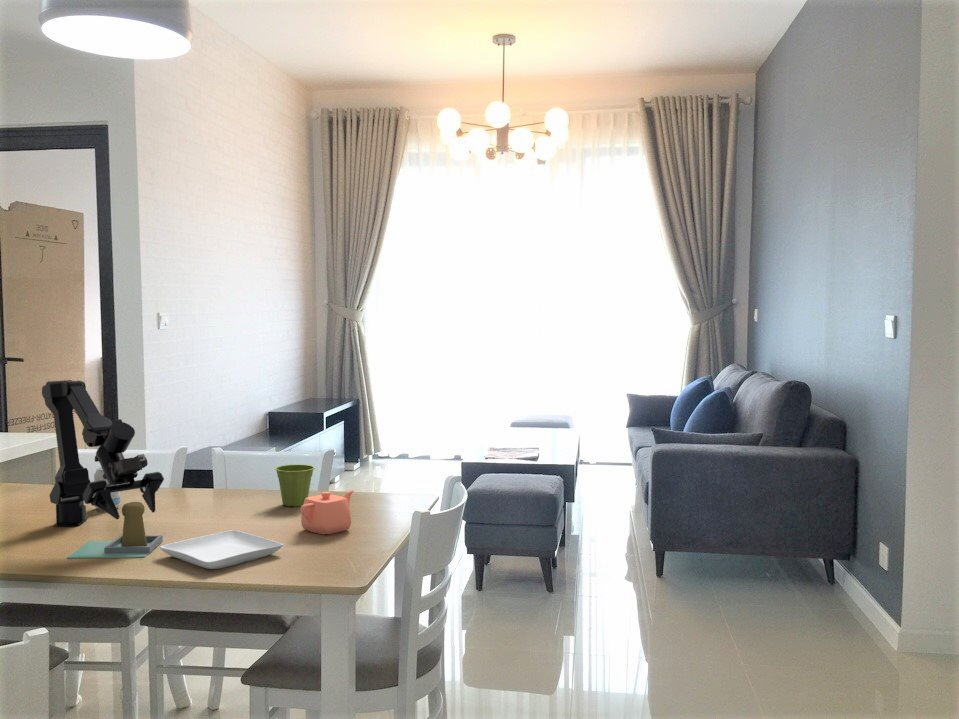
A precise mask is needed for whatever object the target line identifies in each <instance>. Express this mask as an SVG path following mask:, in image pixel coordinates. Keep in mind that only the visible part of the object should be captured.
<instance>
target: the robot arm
mask: <svg viewBox="0 0 959 719" xmlns="http://www.w3.org/2000/svg"><path fill="white" fill-rule="evenodd" d="M86 387H87V386H86V383H85V381H82V380H71V379H68V380H67V379H65V380H51V381H50V380H49V381H48V380H47V382H46V383H45V385H42V388H41V396H42V398H43V399H44V404H45V406H46V407H47V409H48V410H49V411H50V412H51V413H52V414H53V422H54V428H55V436H56V443H57V451H58V452H57V454H58V459H59V468H58V470H57V472H56V474H55V476H54V480H55V481H54V485H53V487H52V489H51V491H50V493H49V500H50V503H51V504H54V505H55V517H56V520H55V522H54V524H53V526H54V527H70V526H71V527H76V526H80V525H82V524H83V523H84V522H87V521H88V520H87V519H88V518H87V506H86V505H91V506H94V507H95V506H97V507H99V508H101V509H102V510H104V512H106V513H107V514H109V515H110V516H111V517H113V519H116V520H119V519H120V514H119V512H118V507H117V508H116V506H115V504H114V502H113V500H112V498H111V493H112V492H120V493H121V492H125V491H126V492H127V491H132V490H138V489H139V490H140V492H141V493H142V495H141V497H142V498H143V500H144V502H145V504H146V506H147V507H148V509H149V510H150V511H151V513H153V514H154V513H155V512H156V492H158V491H159V489H160V487H161V485H162V484H163V482H164V480H165V477H164V476H163V473H162V472H160V471H154V472H153V471H152V472H147V473H145V474H144V476H143V477H142V479H139V480H135V478H137V477H138V472H139V471H142V470H143V469H145V468H146V467H148V465H149V464H148V463H149V462H148V460H147V457H146V456H145V454H144V453H143V454H137V455H136V456H135V457H134V456H133V457H128V458H125V456H124V454H123V453H124V452H126V451H127V449H128V448H129V446H130V443H131V442H132V440H133V438H134V437H135V435H136V432H135V428H134V427H132V425H130V424H129V423H126V422H124V421H123V420H122V419H121V418H117V419H113V421H112V420H111V419H110V418H108V417H106V416H104V415H102V413H100V411H99V409H98V407H97V406H96V404H95V403H94V400H93V399H92V397H91V395H90V393H89V392H88V391H87V388H86ZM73 411H74V412H75V414H76V415H77V417H78V419H79V421H80V422H81V425H82V426H83V428H82V432H81V434H82V440H83V441H84V443H85V444H86V446H87V447H89V448H95V447H96V448H97V447H98V448H97V450H96V452H95V456H94V462H96V463H97V462H98V463H99V465H100V467H102V469H103V471H104V474H103V478H104V479H107V481H108V483H109V485H107V483H106V481H104V480H101V481H94V480H93V481H91V479H90V477H89V470H88V468H87V467H84V466H83V465H82V464H81V463H80V456H79V448H78V440H77V435H76V427H75V420H74V412H73ZM85 504H86V505H85Z"/></svg>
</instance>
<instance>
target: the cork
mask: <svg viewBox="0 0 959 719" xmlns="http://www.w3.org/2000/svg"><path fill="white" fill-rule="evenodd" d="M145 510H146V509H145V505H144V503H142V502H139V501H132V502H128V503H124V504H123V506H122V507H121V514H122V515H123V517H124V518H123V527H122V533H121V534H122V535H121V536H122V543H121V547H129V546H147V540H146V535H147V534H146V530H145V524H144V523H145V522H144V518H143V515H144V513H145Z"/></svg>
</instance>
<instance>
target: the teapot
mask: <svg viewBox="0 0 959 719" xmlns="http://www.w3.org/2000/svg"><path fill="white" fill-rule="evenodd" d="M354 492H355V490H354V489H352V490H348V491H347V492H346V493H345V494H344V497H343V496H341V495H336V494H331V492H330V491H322V492H321V494H317V495H312V496H308V497H307V498H305V501H304V505H302V506H300V508H299V509H300V512H301V513H300V514H301V520H300V521H301V527H302V529H303V530H305V531H307V532H311V533H314V534H319V535H321V534H323V535H322V536H325V535H324V534H328V535H331V534H336V533H339V532H344V531H346V530H349V529H350V527H351V525H352V516H351V510H350V503H351V502H350V500H351V496H352V495H353V493H354Z"/></svg>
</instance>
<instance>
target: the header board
mask: <svg viewBox="0 0 959 719" xmlns="http://www.w3.org/2000/svg"><path fill="white" fill-rule="evenodd" d="M145 535H146V540H147V546H129V547H121V543H122V535H119V536H118V537H117V538H115V539H114V540H88V541H87V542H86V543H85V544H83V545H82V546H80V547H79V548H78V549H76V550H74V551H73V552H72V553H71V554H70V555H68V556H67V557H66V559H117V558H121V559H122V558H123V559H125V558H127V559H128V558H129V559H130V558H135V559H137V558H146V557H147V556H148V555H149V554H150V553H151V552H153V551H154V549H156V547H158V546H159V545H160V544H161V543H162V542H163V537H164V536H163V535H162V534H161V535H157V534H156V535H153V534H151V535H149V534H145Z"/></svg>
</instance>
